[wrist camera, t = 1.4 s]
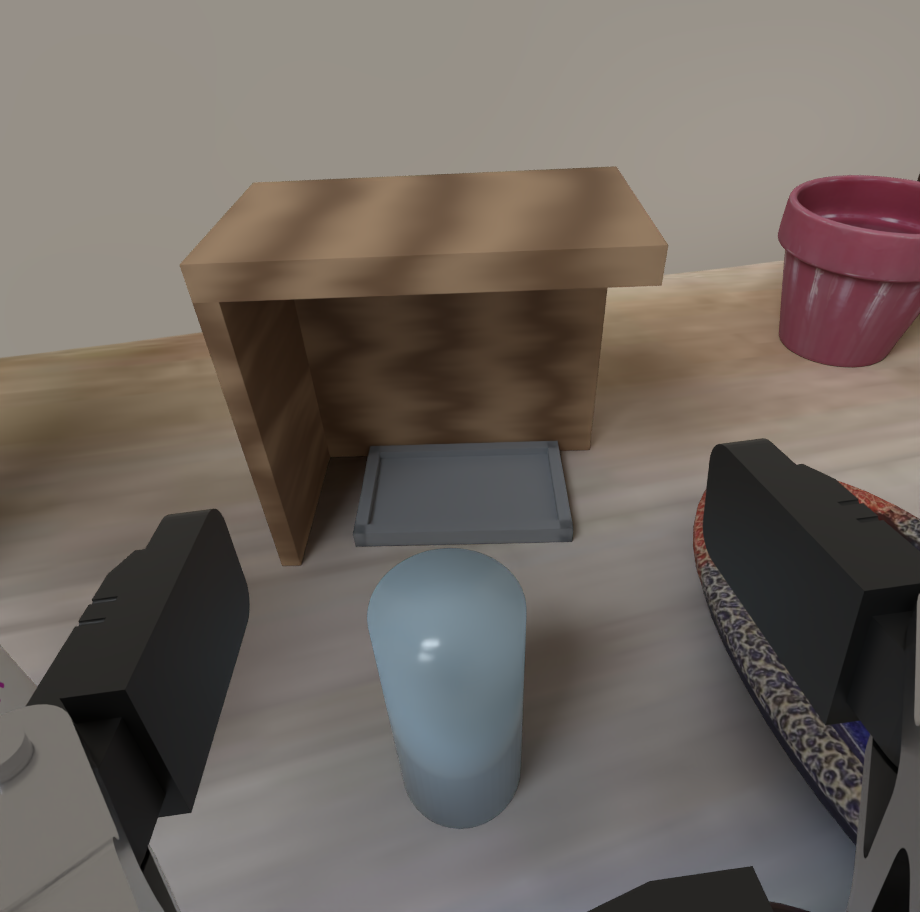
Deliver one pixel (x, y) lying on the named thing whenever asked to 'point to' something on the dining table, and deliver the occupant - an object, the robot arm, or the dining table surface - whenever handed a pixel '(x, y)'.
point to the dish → (776, 693)
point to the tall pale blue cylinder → (453, 680)
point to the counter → (411, 316)
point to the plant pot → (850, 268)
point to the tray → (463, 495)
